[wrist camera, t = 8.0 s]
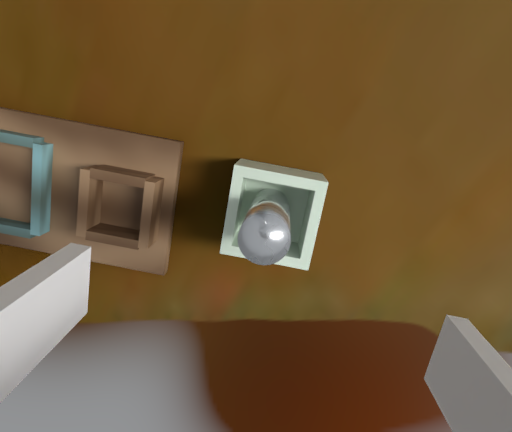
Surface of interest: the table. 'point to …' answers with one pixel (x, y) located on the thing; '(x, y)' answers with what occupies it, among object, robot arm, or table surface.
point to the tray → (300, 204)
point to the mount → (88, 189)
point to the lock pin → (266, 228)
